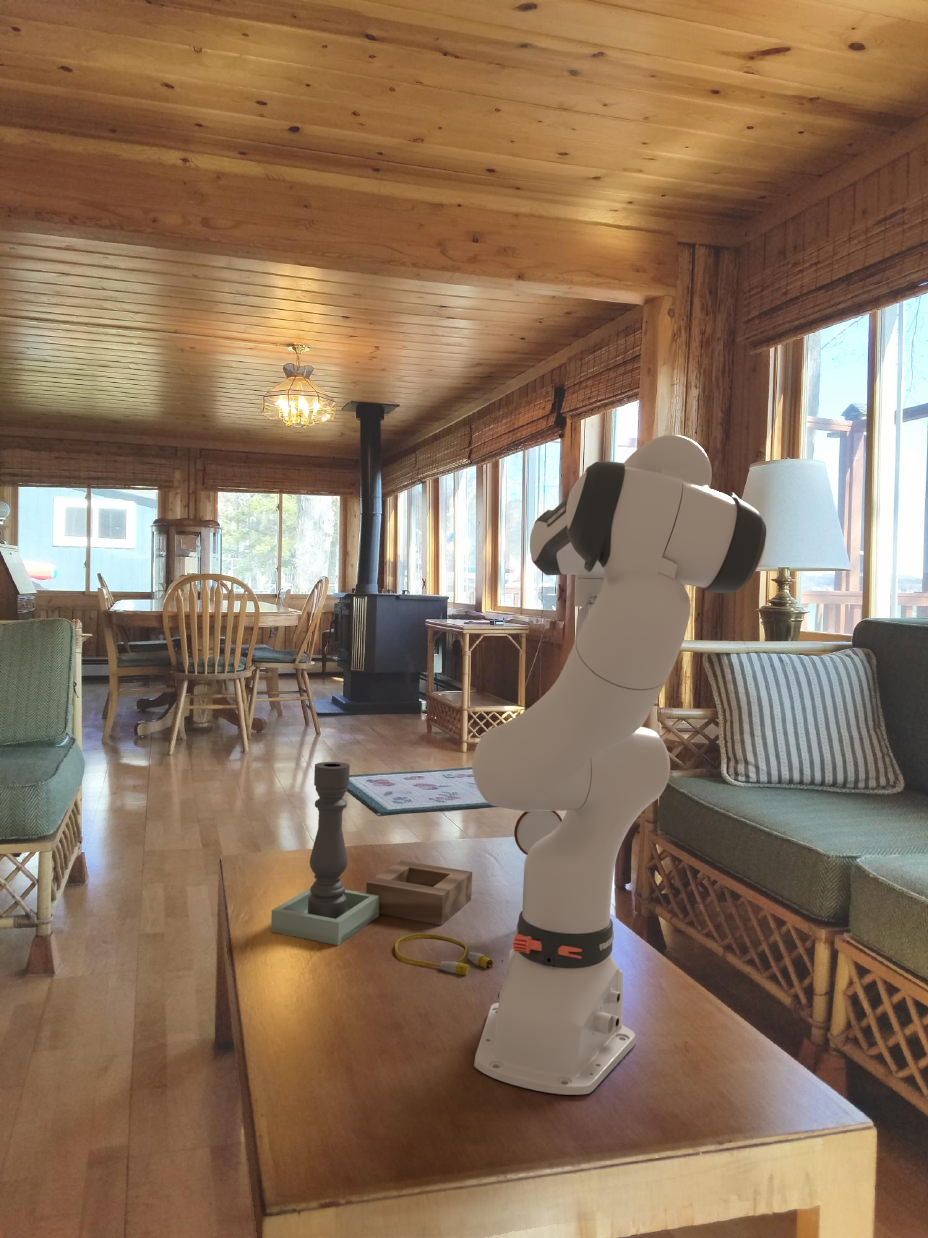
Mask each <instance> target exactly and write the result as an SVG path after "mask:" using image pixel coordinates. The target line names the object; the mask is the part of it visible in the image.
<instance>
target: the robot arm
mask: <svg viewBox="0 0 928 1238" xmlns="http://www.w3.org/2000/svg"><path fill="white" fill-rule="evenodd" d="M712 475H713V472H712V464H711V462H710V459H709V456H708V454H707V453H706V451H705V450H704V449H703V448H702V447H701V446H700V445H699V444H698V443H697V442H696V441H694V440H692V439H691V438H688V437H686V436H683V435H679V434H666V435H661V436H658V437H655V438H653V439H651V440H649V441H648V442H646V443H644V444H642V445H641V446H640V447H638V448H637V449H636V450H635V451H634V452H633V453H631V455H630V456H628V458H627V459H626V460H625V461H624V462H617V461H608V460H606V461H605V460H603V461H600V460H599V461H594V462H593V463H592V464H591V465H588V466H587V467H586V469H585V471H584V473H583V474H581V475H580V476H579V478H578V479H577V480H576V482H575V483H574V485H573V486H572V488H571V490H570V492H569V494H568V496H567V497H566V498H565V499H564V500H562V501H561V503H559V504H558V505H557V506H556V507H555V508H553V509H547V510H546V511H544V512H543V513H542V514H541V515H540V516H539V517H537V519H536V520H535V521H534V523H533V527H532V529H531V532H530V536H529V537H530V538H529V553H530V559H531V562H532V563H533V564H534V565H535V567H537V569H538V570H540V572H542V573H543V574H544V575H546V576H563V575H573V576H574V575H575V581H574V583H575V584H574V601H573V602H574V603H573V604H574V607H578V608H579V607H580V608H579V609H578V611H577V616H576V617H577V618H576V623H575V624H576V625H575V635H574V636H575V637H574V644H573V646H572V648H571V650H570V653H569V654H568V657H567V660H566V661H565V663H564V666H563V668H562V669H561V672H560V674H559V676H558V678H557V679H556V681H555V682H554V683H553V685H552V686H551V687H550V689H549V690H547V691H546V692H545V694H544V695H542V696H541V697H540V698H539V699H538V700H536V702H534V703H533V704H532V705H530V707H529V708H527V709H526V710H524V711H523V712H522V713H520V714H519V715H517V716H515V717H514V718H512V719H510V720H508V721H505V722H504V723H502V724H499V725H496V726H495V727H491V728H489V729H488V730H486V731H485V733H484V734H483V735H482V736H481V738H480V739H479V741H478V743H477V744H476V747H475V749H474V752H473V756H472V764H471V766H472V776H473V780H474V784H475V786H476V788H477V791H478V792H479V794H480V795H481V797H482V798H483V799H484V800H485V801H486V803H488V804H489V805H490V806H492V807H498V808H503V809H508V810H513V811H520V812H536V811H556V812H558V811H560V812H561V811H566V812H565V814H564V816H563V818H562V821H561V823H560V824H559V825H558V827H557V828H556V829H555V830H554V831H553V832H551V833H550V834H548V835H547V836H545V837H543V838H542V839H540V840H539V841H537V842H536V843H535V844H534V845H533V846H532V847H531V849H530V850H529V852H528V854H527V855H526V856H525V859H524V861H523V862H524V863H523V864H524V865H523V885H522V888H523V889H522V910H521V911H520V912H519V914H518V915H519V916H518V921H517V924H516V930H515V936H514V939H513V943H512V949H511V950H509V958H508V959H509V962H508V963H507V964H508V966H507V969H506V971H505V972H506V974H505V977H504V981H503V985H502V988H501V989H500V990H499V991H498V995H497V998H498V1002H494V1003H493V1004H491V1006H490V1007H489V1011H488V1014H487V1018H486V1021H485V1024H484V1027H483V1030H482V1034H481V1036H480V1041H479V1043H478V1046H477V1049H476V1052H475V1057H474V1062H473V1063H474V1064H473V1066H474V1068H476V1069H477V1070H478V1071H480V1072H481V1073H483V1074H484V1075H487V1076H488V1077H491V1078H493V1079H495V1080H498V1081H501V1082H503V1083H507V1084H510V1085H513V1086H516V1087H520V1088H524V1089H529V1090H533V1091H538V1092H542V1093H543V1092H544V1093H549V1094H556V1095H569V1096H570V1095H572V1096H573V1095H575V1096H579V1095H580V1096H581V1095H588V1094H591V1093H592V1092H593V1091H594V1090H595V1089H596V1088H597V1087H598V1086H599V1085H600V1084H601V1082H602V1081H603V1080H604V1079H605V1078H606V1077H607V1076H608V1075H609V1074H610V1073H611V1071H612V1070H613V1069H614V1068H615V1067H616V1066H617V1065H618V1064H619V1063H620V1061H621V1060H622V1059H623V1058H624V1057H625V1056H627V1054H629V1052H630V1050H631V1049H633V1047H634V1046H635V1045H636V1043H637V1041H636V1033H635V1032H634V1031H633V1030H632V1029H630V1028H628V1027H626V1026H625V1025H624V973H623V971H622V970H621V969H620V967H619V966H618V965H617V964H616V962H615V960H614V959H613V956H612V955H611V954H612V952H613V944H614V943H613V942H614V923H613V920H612V919H611V902H612V893H613V892H612V891H613V881H614V874H615V868H616V867H615V866H616V861H617V857H618V854H619V851H620V848H621V846H622V843H623V841H624V840H625V838H626V836H627V834H628V832H629V830H630V828H631V827H632V825H633V823H634V822H635V821H636V819H637V818H638V817H639V816H640V815H641V813H642V812H643V811H644V810H645V809H646V808H648V806H650V805H651V804H652V803H653V802H655V801H656V800H658V799H659V798H660V796H662V793H664V791H665V789H666V787H667V785H668V782H669V778H670V774H671V760H670V754H669V752H668V749H667V746H666V744H665V742H664V740H663V739H662V737H661V736H660V735H659V733H657V732H656V731H655V730H654V729H652V728H650V727H646V726H645V727H644V724H645V723H646V721H647V720H648V717H649V715H650V713H651V711H652V710H653V707H654V706H655V704H656V702H657V700H658V698H659V696H660V694H661V692H662V690H663V688H664V686H665V684H666V682H667V680H668V678H669V677H670V675H671V672H672V670H673V668H674V666H675V664H676V662H677V659H678V657H679V653H680V652H681V648H682V645H683V643H684V640H685V637H686V633H687V630H688V625H689V620H690V616H691V611H692V610H691V599H690V596H689V593H688V591H687V589H686V588H685V586H686V585H687V586H689V587H691V586H692V587H697V588H702V590H703V591H705V592H709V593H717V594H718V593H719V594H733V593H736V592H737V591H740V589H742V588H744V587H745V586H746V585H747V584H748V583H749V581H750V580H751V579H752V577H753V575H754V574H755V572H756V571H757V570H758V569H759V566H760V564H761V562H762V560H763V557H764V553H765V549H766V537H767V524H766V523H765V521H764V519H763V517H762V515H761V514H760V511H758V510H757V509H756V508H755V507H753V506H751V505H750V504H749V503H747V502H745V501H743V499H741V498H739V497H738V496H737V495H736V494H735V492H732V491H731V492H729V493H723V492H719V491H717V490H715V489H711V484H712V477H713V476H712ZM684 585H685V586H684Z"/></svg>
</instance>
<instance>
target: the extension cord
mask: <svg viewBox="0 0 928 1238" xmlns="http://www.w3.org/2000/svg"><path fill="white" fill-rule="evenodd" d="M416 939H438V940H444V941H448V942H451V943H454V944H457V945H460V946H461V947H464V952H463V954H462V956H461V958H459V959H457V960H454V961H443V960H442V961H441V962H440V963H436V962H435V963H434V962H430V961H423V960H418V959H413V958H409V957H406V956H404V955H402V954H401V953H400V952H399V950H398V948H399V946H400V944H401V943H404V942H406V941H410V940H416ZM467 951H468V947H467V945H466V944H465V943H464V942H462V941H460V940H458V939H455V938H452V937H448V936H445V935H439V934H436V933H435V934H434V933H433V934H432V933H413V934H408V935H404V936H402V937H400V938H399V939H398V940H396V942H395V944H394V953H395V955H396V958H397V959H398V960H399V961H400V962H403V963H405V964H409V965H412V966H419V967H432V966H434V967H439V970H440V971H444V972H447V973H450V974H455V975H456V974H457V975H461V976H467V974H468V973H470V971H471V968H470V967H471V966H470V964H466V963H462V961H463V960H464V959H465V957H466V955H467V959H468V961H470V962H471V963H473V964H474V965H475V966H477V967H481V968H484V969H485V970H488V968H491V967H492V968H493V966H494V965H493V964H494V961H493V959H491V958H489V957H487V955H485V954H483V953H479V952H473V951H469V952H468V954H467ZM487 967H488V968H487Z"/></svg>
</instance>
